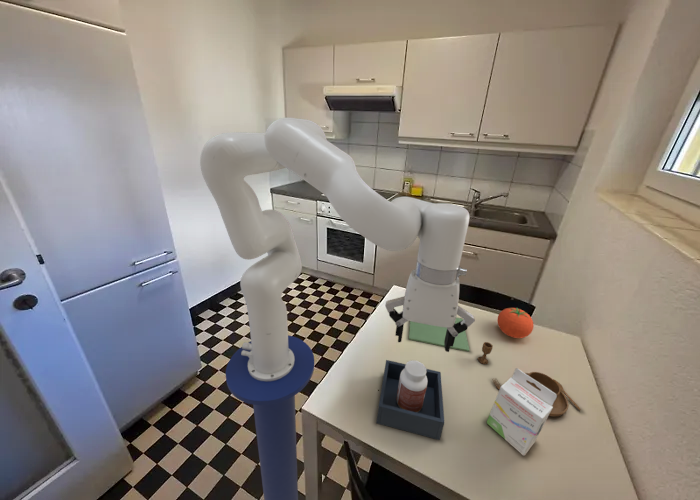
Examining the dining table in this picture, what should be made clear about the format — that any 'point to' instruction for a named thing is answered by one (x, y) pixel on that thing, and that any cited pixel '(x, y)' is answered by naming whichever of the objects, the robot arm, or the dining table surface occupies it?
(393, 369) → the blue open box
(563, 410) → the place setting
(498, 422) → the ink box
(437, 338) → the mat
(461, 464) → the dining table surface
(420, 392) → the pill bottle
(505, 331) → the tomato
